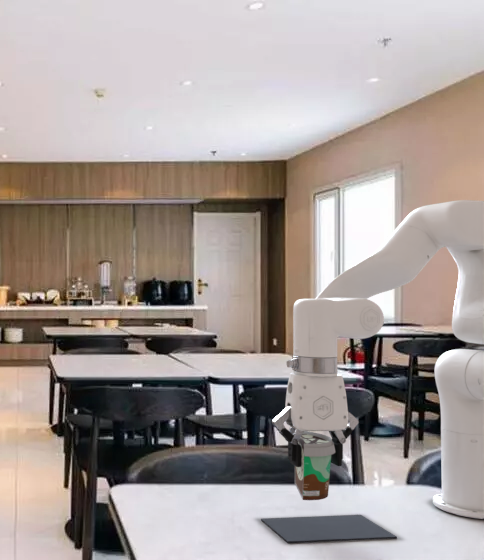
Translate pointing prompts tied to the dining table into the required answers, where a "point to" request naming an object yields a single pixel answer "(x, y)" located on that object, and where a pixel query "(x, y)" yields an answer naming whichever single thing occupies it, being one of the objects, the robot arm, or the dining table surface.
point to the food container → (314, 466)
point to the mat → (326, 528)
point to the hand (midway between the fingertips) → (315, 463)
